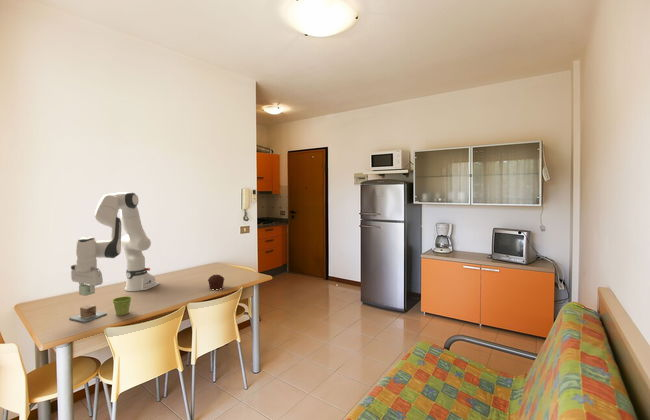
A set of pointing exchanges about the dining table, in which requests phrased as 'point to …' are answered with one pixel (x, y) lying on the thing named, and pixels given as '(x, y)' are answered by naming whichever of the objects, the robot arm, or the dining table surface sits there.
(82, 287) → the block
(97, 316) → the pad
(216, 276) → the muffin
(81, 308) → the block
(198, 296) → the dining table surface
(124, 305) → the plant pot
